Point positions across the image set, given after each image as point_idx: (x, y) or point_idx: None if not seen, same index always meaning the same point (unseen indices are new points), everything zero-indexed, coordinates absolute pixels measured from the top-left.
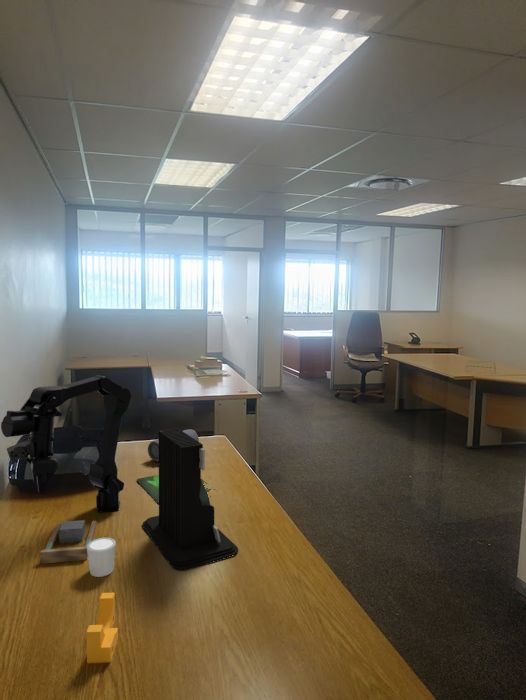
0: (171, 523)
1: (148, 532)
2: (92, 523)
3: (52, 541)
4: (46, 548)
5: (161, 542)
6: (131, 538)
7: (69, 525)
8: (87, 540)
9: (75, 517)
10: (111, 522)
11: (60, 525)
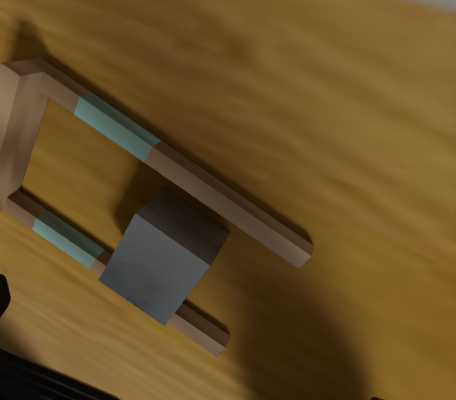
0: None
1: (60, 383)
2: (205, 337)
3: (149, 162)
4: (101, 116)
5: None
6: (67, 342)
7: (152, 263)
8: (85, 254)
9: (351, 340)
10: (205, 377)
11: (288, 259)
